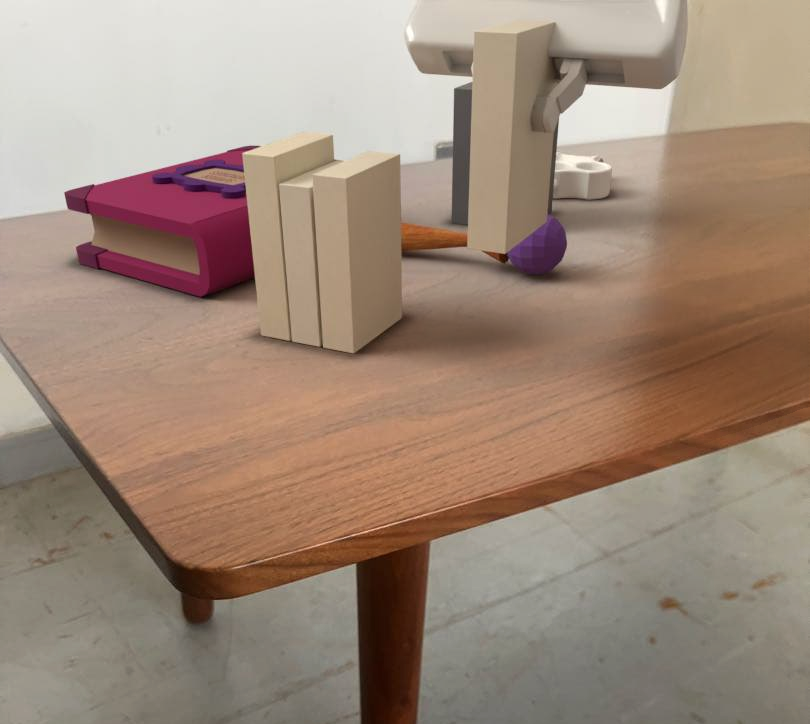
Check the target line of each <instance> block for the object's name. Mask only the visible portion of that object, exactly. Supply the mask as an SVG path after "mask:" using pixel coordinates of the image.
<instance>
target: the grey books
mask: <svg viewBox="0 0 810 724" xmlns="http://www.w3.org/2000/svg"><path fill="white" fill-rule="evenodd" d="M472 84H473V81H470V82H468V83H465V84H462V85H459V86H457V87H454V88H453V119H452V120H453V121H452V122H453V124H452V125H453V126H452V128H453V129H452V172H451V174H452V176H451V177H452V178H451V179H452V180H451V224H458V225H464V226H465V225H466V226H468V211H469V179H470V148H471V116H472ZM558 84H559V83H558ZM559 124H560V118H559V119H558V122H557V125H556V128H555V131H554V135H553V148H552V161H551V173H550V186H549V199H548V211H547V214H549V215H551V214H552V213H553V201H554V200H553V189H554V176H555V163H556V152H558V151H557V149H558V137H559V127H560V125H559Z"/></svg>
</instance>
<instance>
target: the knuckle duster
mask: <svg viewBox="0 0 810 724" xmlns="http://www.w3.org/2000/svg"><path fill="white" fill-rule="evenodd" d="M612 173H613V166H612V165H611V164H609V163H607V162H604V159H603V157H601V156H600V155H591V156H587V155H576V154H566V153H563V152H560V151H559V152H558V151H556V163H555V176H554V189H553V199H554V200H559V199H581V200H586V201H587V200H588V201H589V200H593V201H594V200H600V199H604V198H606V197H608V196H609V195H610V192H611V191H610V189H611V182H612Z"/></svg>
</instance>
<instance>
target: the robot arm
mask: <svg viewBox="0 0 810 724" xmlns="http://www.w3.org/2000/svg"><path fill="white" fill-rule="evenodd" d="M688 6H689V5H688V0H417V1H416V2H415V5H414V7H413V9H412V11H411V13H410V15H409V18H408V20H407V23H406V25H405V28H404V32H403V37H404V42H405V46H406V48H407V51H408V53H409V55H410V57H411V60H412V61H413V63H414V65H415V66H416V68H417V70H418V71H419V72H420V73H421V74H425V75H436V76H437V75H439V76H453V77H467V78H468V77H470V78H473V52H474V31H477V30H481V29H484V28H488V27H492V26H496V25H500V24H503V23H507V22H511V21H515V20H523V21H548V22H555V26H554V29H553V32H552V34H551V37H550V41H549V44H548V49H547V54H548V57H554V61H555V65H556V69H557V71H556V74H555V77H554V82H557V83H559V84H558V85H557V86H556V87H555V88H554V89H553V90H552V91H551V92H550V94H549V95H548V96H537V97H536V100H535V103H534V108H533V109H532V112H531V116H530V122H531V125H532V126H533V127H532V129H533V131H534V132H543V133H554V131H555V128H556V125H557V122H558V119H559V120H560V116H561V115H563V113H564V112H566V111H567V110H568V109H569V108H570V107H571V106H572V105H573V104H574V103H576V102H577V101H578V100H579V99H580V98H581V97H582V96H583V94H584V90H585V88H586V86H587V85H588V86H602V87H603V86H604V87H605V86H606V87H616V88H617V87H618V88H632V89H633V88H636V89H648V90H662V89H664V88H666V87H667V86H669V85H670V84H671V83H672V82H674V81H675V80H676V79H677V78H678V76H679V75H680V72H681V67H682V63H683V60H684V56H685V50H686V45H687V40H688V39H687V38H688V30H689V15H688V14H689V13H688V12H689V11H688V10H689V9H688Z"/></svg>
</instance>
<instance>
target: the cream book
mask: <svg viewBox="0 0 810 724" xmlns="http://www.w3.org/2000/svg"><path fill="white" fill-rule="evenodd" d="M554 26H555V22H548V21H523V20H515V21H511V22H507V23H503V24H500V25H496V26H492V27H488V28H484V29H481V30H477V31H474V52H473V77H472V82H473V84H472V116H471V148H470V179H469V211H468V225H467V234H468V243H467V247H466V248H467V249H468V250H474V251H480V252H482V251H488V252H495V253H502V254H506V253H507V252H508V251H510V250H511V249H512V248H514V247H515V246H516V245H517V244H519V243H520V242H521V241H523V240H524V239H525V238H527V237H528V236H529V235H530V234H532V233H533V232H534V231H536V230H537V229H538V228H540V227H541V226H542V225H543V224H545V223H546V222H547V211H548V199H549V186H550V173H551V161H552V148H553V135H554V133H543V132H534V131H533V129H532V127H533V126H532V125H531V122H530V116H531V112H532V109H533V108H534V103H535V100H536V97H537V96H548V95H549V94H550V92H551V91H552V90H553V89H554V88H555V87H556V86H557V85H558V83H557V82H554V77H555V74H556V71H557V69H556V65H555V61H554V57H548V54H547V49H548V44H549V41H550V37H551V34H552V32H553V29H554Z"/></svg>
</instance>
